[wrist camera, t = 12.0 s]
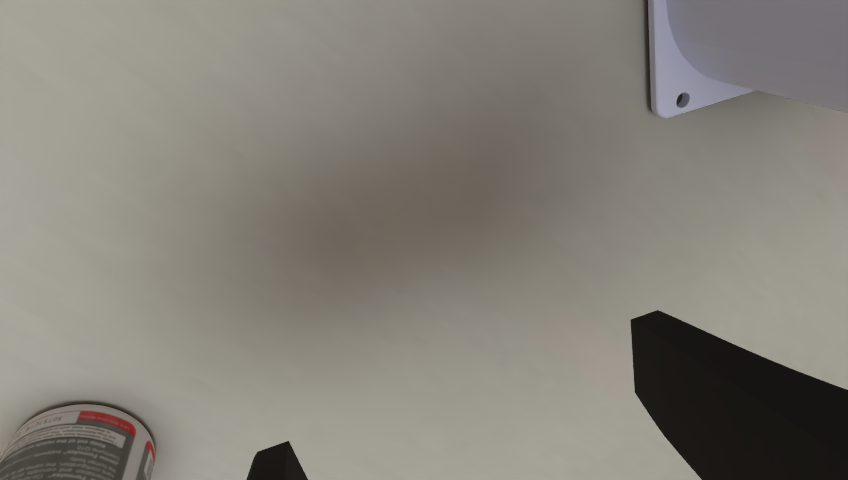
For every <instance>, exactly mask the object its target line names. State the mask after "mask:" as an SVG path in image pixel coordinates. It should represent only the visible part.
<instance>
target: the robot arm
mask: <svg viewBox="0 0 848 480" xmlns="http://www.w3.org/2000/svg"><path fill="white" fill-rule="evenodd" d="M648 15H649V49H650V84H651V108H652V111H653V113H654V114H655V115H657V116H660V117H663V118H670V117H673V116H676V115H680V114H683V113H686V112H689V111H692V110H696V109H699V108H702V107H705V106H708V105H711V104H715V103H718V102H721V101H724V100H727V99H731V98H734V97H737V96H740V95H743V94H747V93H750V92H753V91H756V90H757V91H761V92H765V93H769V94H773V95H777V96H781V97H785V98H789V99H793V100H797V101H801V102H805V103H809V104H813V105H817V106H821V107H825V108H829V109H833V110H837V111H841V112H846V113H848V0H648ZM680 94H682V95H683V96H682V100H681V101H680V103H679V104H676V101H677V98H678V96H679V95H680ZM631 333H632V350H633V367H634V384H635V393H636V395H637V396H638V398H639V399H640V401H641V402H642V404H643V405H644V407H645V408H646V410H647V411H648V413H649V415H650V416H651V417H652V419H653V420H654V422H655V423H656V425H657V426H658V428H659V429H660V430H661V432H662V433H663V435H664V436H665V437H666V438H667V440H668V441H669V442H670V443H671V444H672V445H673V447H674V448H675V449H676V450H677V451H678V452H679V454H680V455H681V456H682V457H683V458H684V459H685V461H686V462H687V463H688V464H689V465H690V466H691V468H692V469H693V470H694V471H695V472H696V473H697V475H698V476H699V477H700V478H701V479H702V480H848V390H846V389H843V388H840V387H838V386H835V385H832V384H830V383H827V382H824V381H822V380H819V379H816V378H814V377H811V376H808V375H806V374H803V373H801V372H798V371H795V370H793V369H790V368H788V367H786V366H783V365H781V364H778V363H776V362H773V361H771V360H769V359H766V358H764V357H761V356H759V355H757V354H754V353H752V352H750V351H748V350H745V349H743V348H741V347H738V346H736V345H734V344H732V343H729V342H727V341H725V340H723V339H721V338H718V337H716V336H714V335H712V334H710V333H707V332H705V331H703V330H701V329H699V328H697V327H694V326H692V325H690V324H688V323H686V322H683V321H681V320H679V319H677V318H675V317H672V316H670V315H668V314H665V313H663V312H661V311H658V310H657V311H654V312H651V313H648V314H646V315H643V316H640V317H637V318H634V319H631ZM247 480H308V479H307V477H306V475H305V473H304V471H303V469H302V467H301V465H300V463H299V461H298V459H297V457H296V455H295V453H294V451H293V449H292V447H291V445H290V443H289V441H287V442H284V443H281V444H279V445H276V446H273V447H270V448H267V449H264V450H262V451H259V452H257V454H256V455H255V457H254V459H253V462H252V465H251V468H250V471H249V474H248V477H247Z"/></svg>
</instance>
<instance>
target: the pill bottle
mask: <svg viewBox="0 0 848 480" xmlns="http://www.w3.org/2000/svg"><path fill="white" fill-rule="evenodd" d="M154 462H155V448H154V444H153V441H152V439H151V437H150V435H149V433H148V432H147V430H146V429H145V428H144V426H143V425H142V424H141V423H139V422H138V421H137V420H136V419H134V418H133V417H131V416H130V415H128V414H126V413H124V412H122V411H120V410H117V409H114V408H110V407H106V406H101V405H92V404H81V405H71V406H65V407H60V408H56V409H52V410H49V411H46V412H44V413H41V414H39V415H38V416H36V417H34V418H32V419H31V420H29V421H28V422H26V423H25V424H24V425H23V426H22V427H21V428H20V429H19V430H18V431H17V432H16V434H15V435H14V436H13V438H12V440H11V441H10V443H9V445H8V446H7V448H6V450H5V452H4V454H3V456H2V457H1V459H0V480H150V478H151V474H152V470H153V466H154Z"/></svg>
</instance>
